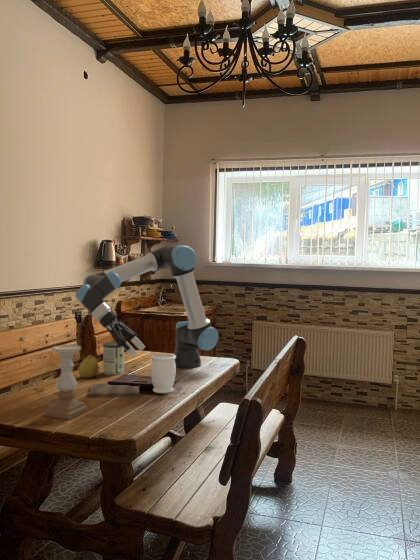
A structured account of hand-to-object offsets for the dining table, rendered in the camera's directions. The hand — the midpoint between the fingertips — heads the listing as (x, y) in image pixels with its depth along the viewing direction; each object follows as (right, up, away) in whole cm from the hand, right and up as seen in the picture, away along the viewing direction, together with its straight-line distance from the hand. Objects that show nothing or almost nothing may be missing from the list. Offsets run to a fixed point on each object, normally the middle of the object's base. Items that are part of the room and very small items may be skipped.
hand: (139, 352), depth 208 cm
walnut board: (-10, -16, -1) cm, 19 cm away
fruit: (-27, -15, +21) cm, 37 cm away
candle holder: (-22, -18, -31) cm, 42 cm away
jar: (+10, -17, 0) cm, 19 cm away
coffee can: (-17, -15, +32) cm, 39 cm away
